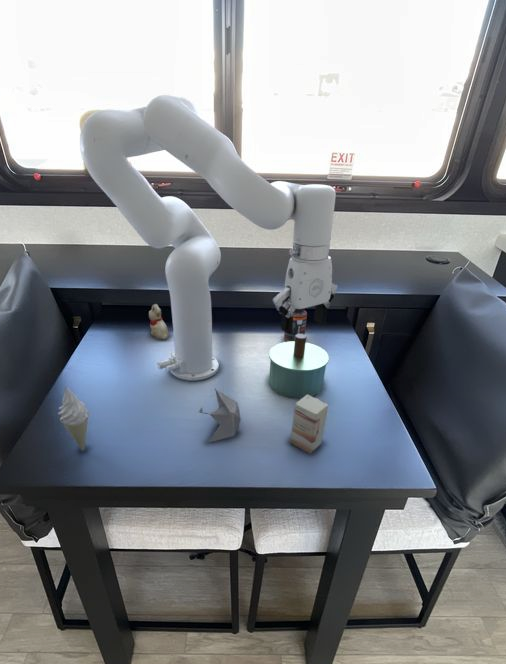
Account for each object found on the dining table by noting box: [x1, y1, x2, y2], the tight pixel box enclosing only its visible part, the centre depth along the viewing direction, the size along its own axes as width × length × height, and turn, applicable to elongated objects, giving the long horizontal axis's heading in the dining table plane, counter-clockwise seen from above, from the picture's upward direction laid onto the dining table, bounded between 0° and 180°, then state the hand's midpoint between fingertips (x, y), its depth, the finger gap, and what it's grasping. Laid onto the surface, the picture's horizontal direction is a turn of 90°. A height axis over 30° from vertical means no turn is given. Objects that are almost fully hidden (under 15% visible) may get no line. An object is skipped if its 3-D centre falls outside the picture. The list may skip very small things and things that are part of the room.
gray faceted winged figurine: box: [197, 388, 241, 443], centre depth 87 cm, size 12×6×9 cm
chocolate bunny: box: [148, 303, 170, 341], centre depth 122 cm, size 6×8×10 cm
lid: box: [268, 334, 330, 372], centre depth 98 cm, size 14×14×6 cm
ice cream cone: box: [57, 386, 90, 452], centre depth 77 cm, size 5×5×15 cm
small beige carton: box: [289, 394, 330, 454], centre depth 82 cm, size 5×4×10 cm
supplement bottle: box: [283, 306, 308, 342], centre depth 120 cm, size 6×6×11 cm
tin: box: [268, 360, 327, 399], centre depth 101 cm, size 13×13×8 cm
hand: (303, 326), depth 95 cm, fingers open, 9 cm apart
